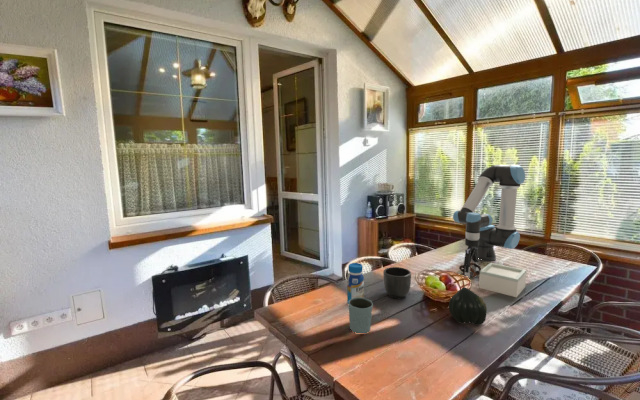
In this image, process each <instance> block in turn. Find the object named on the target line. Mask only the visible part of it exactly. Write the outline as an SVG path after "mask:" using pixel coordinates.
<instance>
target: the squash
mask: <svg viewBox="0 0 640 400" xmlns="http://www.w3.org/2000/svg"><path fill="white" fill-rule="evenodd" d="M448 309H449V310H448V311H449V313H450V315H451V316H452V318H453V319H455V321H456V322H457V323H458V324H465V325H468V324H474V325H476V326H479V325H482V324H484V323H485V321H486V318H487V311H488V310H487V309H488V308H487V305H486V303H485V301H484V299H483V298H482V297H481V296H480V295H478V294H477V293H475V292H474V291H473V290H471V289H469V288H467V287H465V286H463V287H462V288H460V289H459V290H458V291H457V292H456V293H454V294H453V296H451V298H450V299H449V303H448Z"/></svg>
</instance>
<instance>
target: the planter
mask: <svg viewBox="0 0 640 400" xmlns="http://www.w3.org/2000/svg"><path fill="white" fill-rule="evenodd" d="M411 282H412V272H411V271H410V269H408V268H404V267H399V266H393V267H392V266H391V267H387V268H386V267H385V269H383V287H384V290H385V292H386V293H387V294H388V296H389V295H390V296H389V297H391V298H392V297H393V299H398V298H399V299H403V298H405V297H406V296H407V295H408V294H409V292H410V290H411V285H412V284H411Z"/></svg>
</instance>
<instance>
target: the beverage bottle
mask: <svg viewBox="0 0 640 400" xmlns="http://www.w3.org/2000/svg"><path fill="white" fill-rule="evenodd" d="M348 272H349V273H348V275H347V276H346V279H347V281H346V287H347V292H346V293H347V294H346V296H347V297H346V298H347V299H346V300H347V305H348V304H349V303H348V302H349V300H350V299H352V298H357V297H361V298H365V282H364V280H365V276H364V275H363V264H361V263H359V262H351V263H349V264H348Z"/></svg>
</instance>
